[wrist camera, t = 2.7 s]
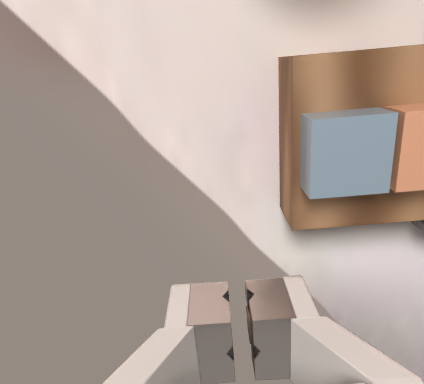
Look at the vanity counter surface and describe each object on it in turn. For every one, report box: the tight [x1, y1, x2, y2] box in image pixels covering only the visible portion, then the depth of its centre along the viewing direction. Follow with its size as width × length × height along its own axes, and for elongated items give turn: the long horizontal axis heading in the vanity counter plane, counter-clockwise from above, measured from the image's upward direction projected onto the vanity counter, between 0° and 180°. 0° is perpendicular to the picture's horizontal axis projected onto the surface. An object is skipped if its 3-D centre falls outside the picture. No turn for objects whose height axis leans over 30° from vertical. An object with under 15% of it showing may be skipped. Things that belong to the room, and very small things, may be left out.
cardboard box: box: [279, 44, 424, 231], centre depth 25 cm, size 11×12×4 cm
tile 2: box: [300, 107, 398, 199], centre depth 21 cm, size 5×5×2 cm
